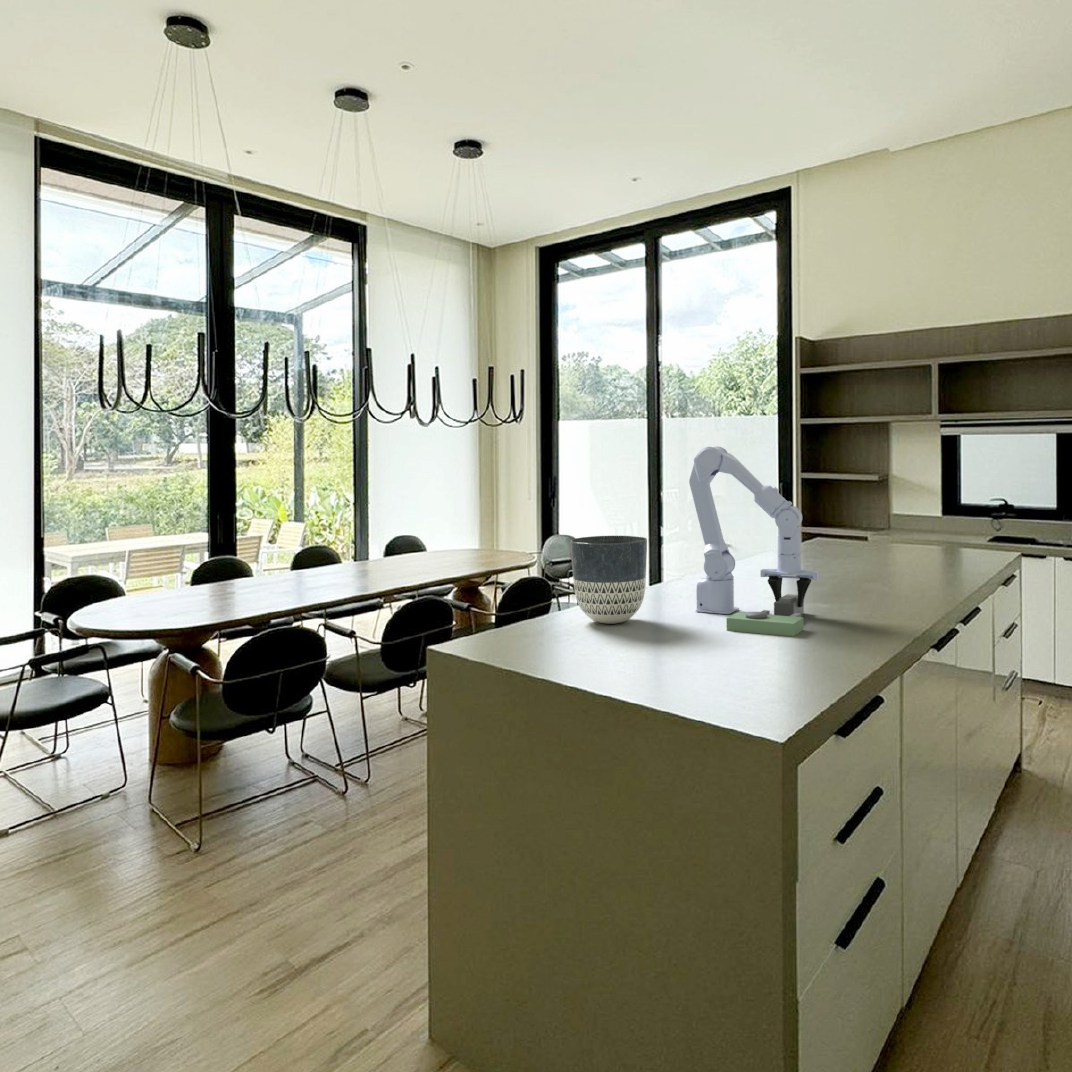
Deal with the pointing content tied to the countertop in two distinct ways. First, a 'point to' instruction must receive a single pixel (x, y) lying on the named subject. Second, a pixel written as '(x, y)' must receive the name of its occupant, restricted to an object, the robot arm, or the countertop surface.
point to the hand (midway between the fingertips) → (789, 605)
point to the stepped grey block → (788, 605)
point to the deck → (766, 623)
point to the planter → (609, 576)
